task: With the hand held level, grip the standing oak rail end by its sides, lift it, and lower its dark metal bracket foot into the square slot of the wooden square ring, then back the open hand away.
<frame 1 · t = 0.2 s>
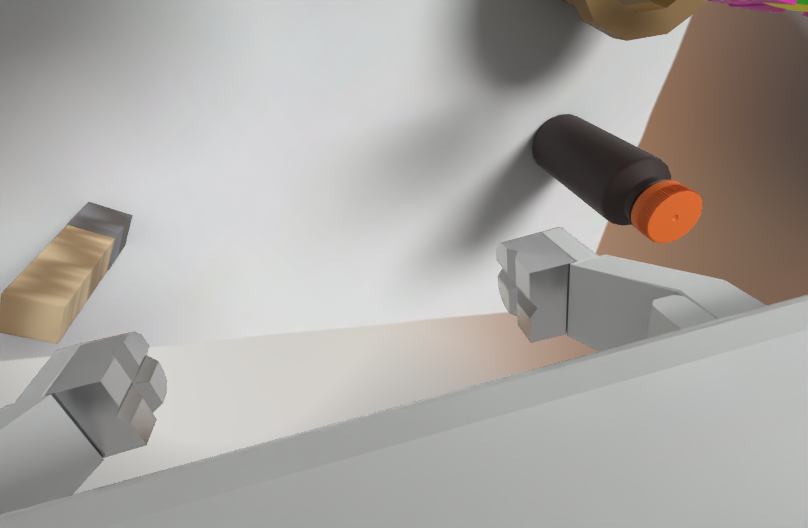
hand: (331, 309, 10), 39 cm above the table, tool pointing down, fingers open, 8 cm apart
rail end: (107, 224, 47), on the table
bottle: (557, 141, 52), on the table
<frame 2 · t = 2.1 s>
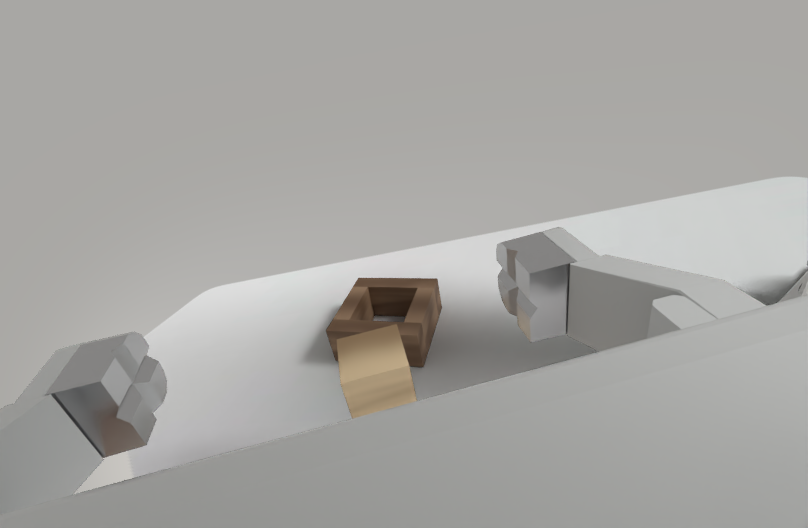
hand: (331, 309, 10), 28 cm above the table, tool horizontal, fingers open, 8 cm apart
wooden square ring: (391, 332, 53), on the table
rail end: (411, 502, 34), on the table
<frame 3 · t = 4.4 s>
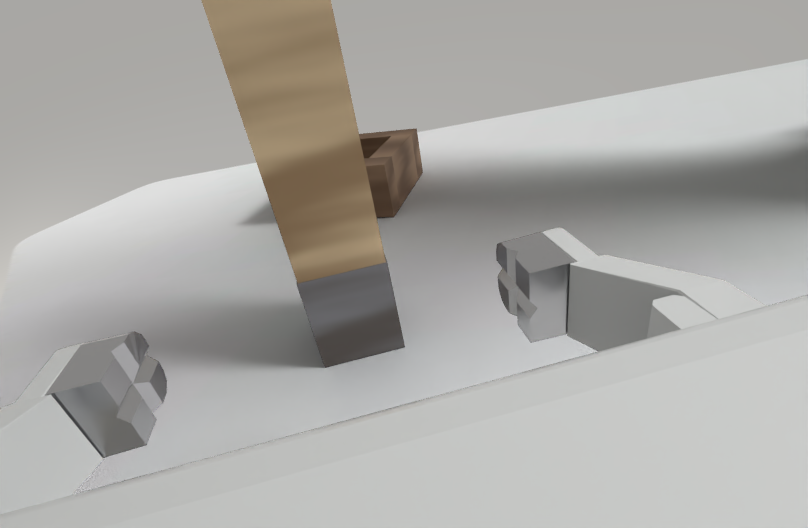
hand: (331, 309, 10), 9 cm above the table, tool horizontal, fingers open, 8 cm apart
wooden square ring: (358, 194, 42), on the table
rail end: (360, 332, 23), on the table
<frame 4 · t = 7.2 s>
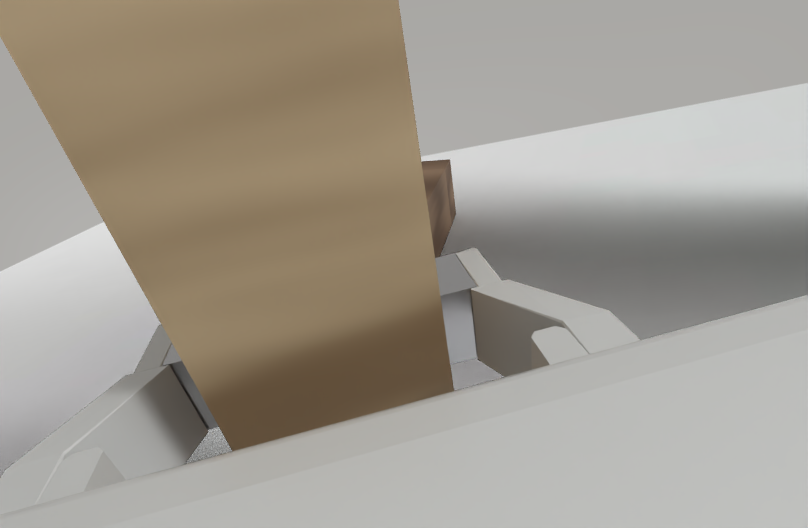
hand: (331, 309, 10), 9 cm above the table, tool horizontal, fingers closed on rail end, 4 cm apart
wooden square ring: (374, 246, 32), on the table
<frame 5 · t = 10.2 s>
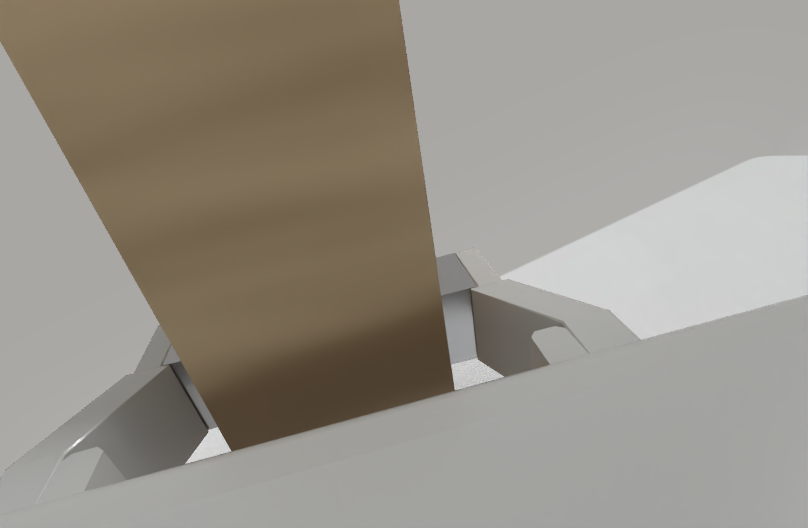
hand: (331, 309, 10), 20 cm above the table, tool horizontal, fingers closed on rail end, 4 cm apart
when the fingers open (10 cm above the table, at t = 13.2 s): rail end drops 1 cm, resting in wooden square ring.
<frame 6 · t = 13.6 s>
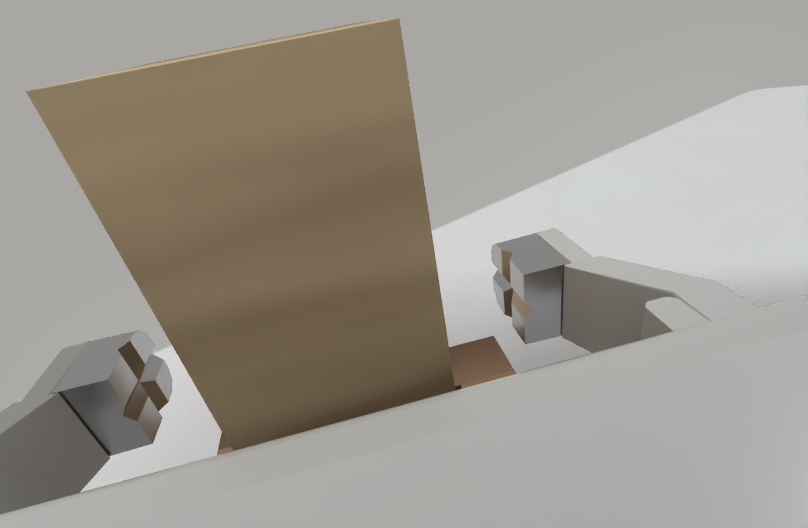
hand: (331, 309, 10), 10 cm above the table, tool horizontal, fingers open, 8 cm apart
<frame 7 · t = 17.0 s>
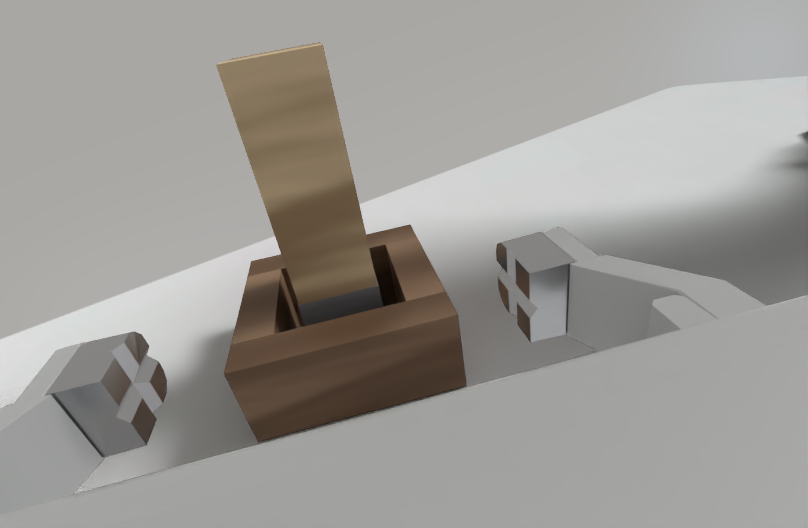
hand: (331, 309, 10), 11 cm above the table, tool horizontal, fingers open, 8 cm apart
wooden square ring: (354, 345, 26), on the table
rail end: (356, 345, 26), resting in wooden square ring
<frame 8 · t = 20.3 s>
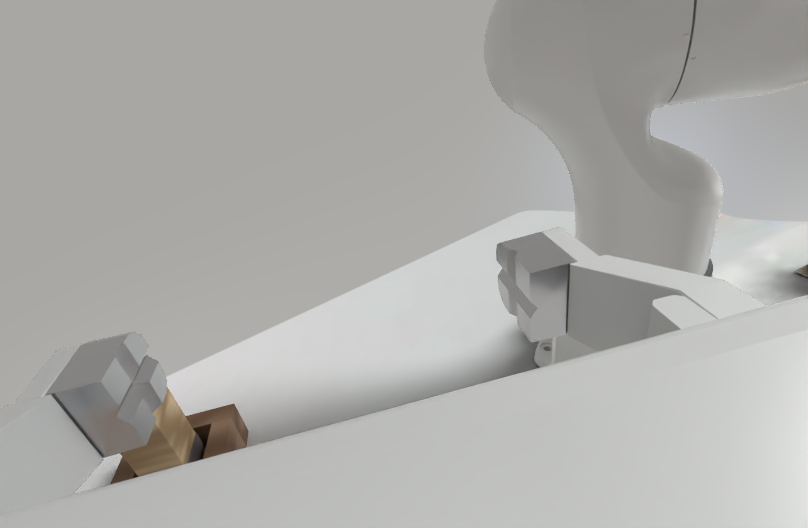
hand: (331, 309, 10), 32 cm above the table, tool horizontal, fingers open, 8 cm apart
wooden square ring: (190, 486, 44), on the table
rail end: (191, 486, 44), resting in wooden square ring
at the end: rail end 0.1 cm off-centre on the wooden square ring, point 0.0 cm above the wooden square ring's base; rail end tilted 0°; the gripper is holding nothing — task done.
